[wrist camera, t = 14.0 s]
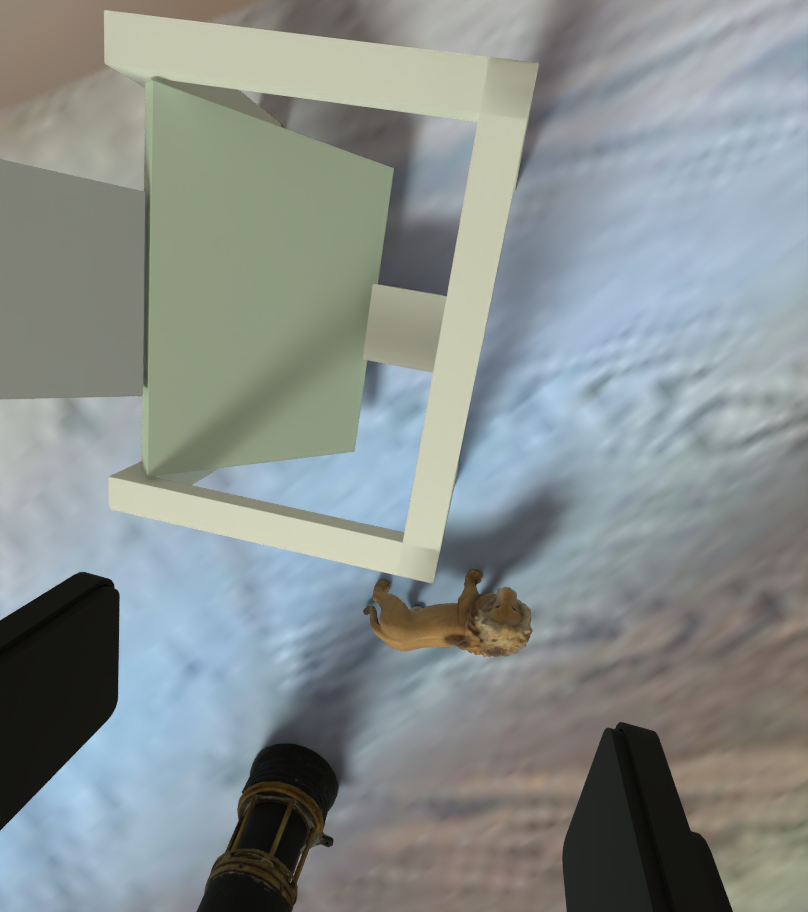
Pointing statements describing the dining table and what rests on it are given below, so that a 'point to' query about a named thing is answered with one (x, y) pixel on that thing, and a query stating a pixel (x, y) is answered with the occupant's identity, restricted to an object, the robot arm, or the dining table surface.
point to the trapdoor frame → (472, 276)
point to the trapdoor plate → (200, 287)
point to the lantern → (273, 832)
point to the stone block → (404, 327)
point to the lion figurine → (454, 621)
